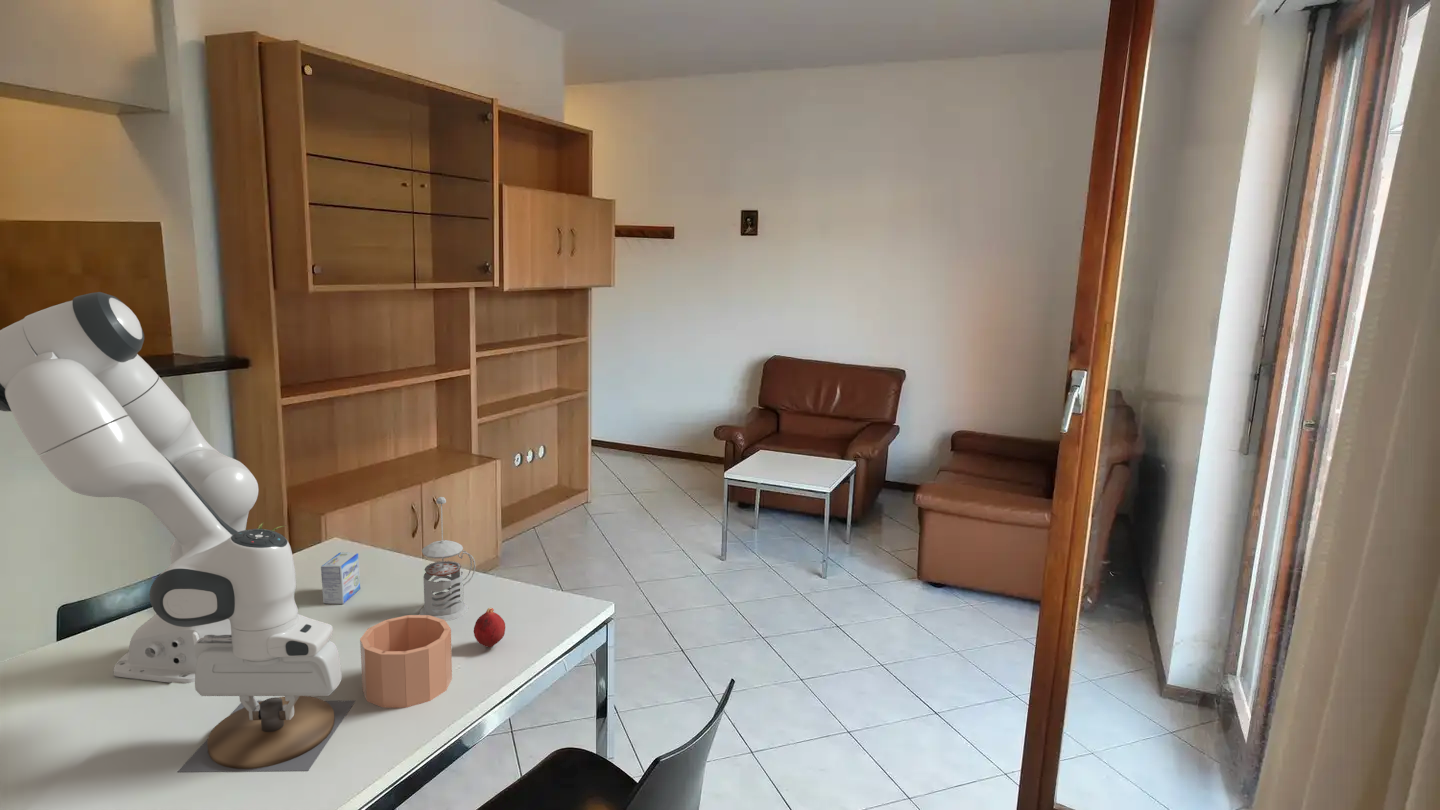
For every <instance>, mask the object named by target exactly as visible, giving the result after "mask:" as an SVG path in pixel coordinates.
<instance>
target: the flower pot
mask: <svg viewBox="0 0 1440 810" xmlns="http://www.w3.org/2000/svg"><path fill="white" fill-rule="evenodd" d="M359 641H360V642H359V643H360V646H359V647H360V662H361V663H360V664H361V665H360V666H361V684H362V687H361V688H362V692H363V696H364V697H365V700H366V702H368V703H370V704H373V705H375V706H379V707H380V708H382V709H383V708H385V709H387V708H388V709H389V708H391V709H392V708H394V709H395V708H398V709H399V708H401V709H403V708H410V707H414V706H417V705H421V704H424V703H428V702H431V701H433V700H434V699H436V698H438V697H439V696H440V695H442V694H443V693H445V692H447V690H448V688H449V687H450V684H451V682H452V681H453V669H452V668H453V666H452V665H453V664H452V663H453V661H452V655H453V654H452V629H451V627H450V625H449V624H448V622H447V621H445V620H443V619H440V618H436V617H433V616H430V615H420V614H409V615H406V614H405V615H402V616H397V617H392V618H389V619H384V620H382V621H380V622H378V623H376V624H374V625H373V626H371V627H368V628H367V629H366V631H365V632H364V633H363V635H362V636H361V637H360V638H359Z"/></svg>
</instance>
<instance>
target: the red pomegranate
mask: <svg viewBox="0 0 1440 810" xmlns="http://www.w3.org/2000/svg"><path fill="white" fill-rule="evenodd" d="M494 610H495V609H494V608H492V607H488V608H487V609H486V611H485V612H484V613H483V614H481V615H480V616H479V617H478V618H477V620H476V621H475V624H474V627H473V636H474V638H475V640H476V641H477V643H479V644H480V645H481V646H484V647H487V648H488V649H489V648H493V647H494V646H495V645H496V644H498V643H499V642H501V640H502V639H503V638H504V636H505V633H506V623H505V620H504V618H502V616H501V615H499V614H498V613H496V612H494Z"/></svg>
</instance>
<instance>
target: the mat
mask: <svg viewBox="0 0 1440 810" xmlns="http://www.w3.org/2000/svg"><path fill="white" fill-rule="evenodd" d="M256 701H257V702H261V701H262V700H256ZM324 701H325V702H327V703H328V704H330V706H331V707H332V708H333V711H334V727H333V729H332V731H331V733H330V734H329V735H328V737H327V738H326V739H325V740H324V741H323V742H321V743H320V744H319V745H318V746H316V747H315V748H313V749H312V750H310V751H308V752H307V753H305V754H303V755H301V756H299V757H297V758H294V759H291V760H289V761H286V762H283V763H280V764H276V765H272V766H267V767H262V768H254V769H235V768H229V767H224V766H222V765H219V764H217V763H216V762H214V761H213V760H212V759H211V758H210V756H209V753H208V745H207V742H208V738H207V739H206V740H205V741H204V742H203V743H202V745H200V747H199V748H198V749H197V750H196V751H195V752H194V753H193V754H192V755H191V756H190V757H189V758H188V759H187V761H186V762H184V763H183V765H182V766H181V767H180V768H179V769H178V770H177V772H176V773H234V772H235V773H238V772H239V773H244V772H245V773H246V772H249V773H250V772H251V773H252V772H253V773H254V772H267V773H268V772H308V771H310V769H311V767H312V766H313V765H314V763H315V762H316V760H317V759H318V758H319V755H320V754H321V752H322V751H323V750H324V748H325V747H326V746H327V744H328V743H329V741H330V740H331V738H332V736H333V735H334V733H335V732H336V731H337V730H338V728H339V726H340V725H341V723H342V722H343V720H344V718H345V717H347V715H348V713H349V711H350V710H351V709H352V707H353V705H354V704H355V702H356V700H324ZM242 708H245V707H244V706H243V705H242V703H241V702H240V703H239V705H238V706H236V707H235V709H234V710H232V712H230V714H229V715H231V714H233V713H234V712H236V711H238V710H240V709H242Z"/></svg>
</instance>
